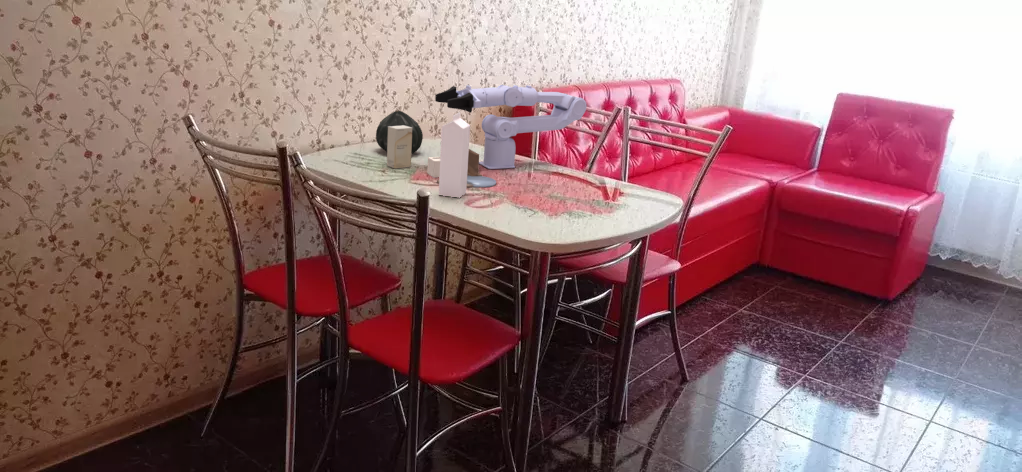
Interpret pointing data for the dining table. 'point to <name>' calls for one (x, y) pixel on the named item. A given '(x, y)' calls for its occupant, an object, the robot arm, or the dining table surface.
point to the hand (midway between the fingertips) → (441, 100)
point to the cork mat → (467, 184)
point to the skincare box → (399, 146)
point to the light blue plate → (481, 181)
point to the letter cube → (434, 167)
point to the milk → (454, 157)
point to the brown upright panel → (473, 164)
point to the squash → (398, 120)
